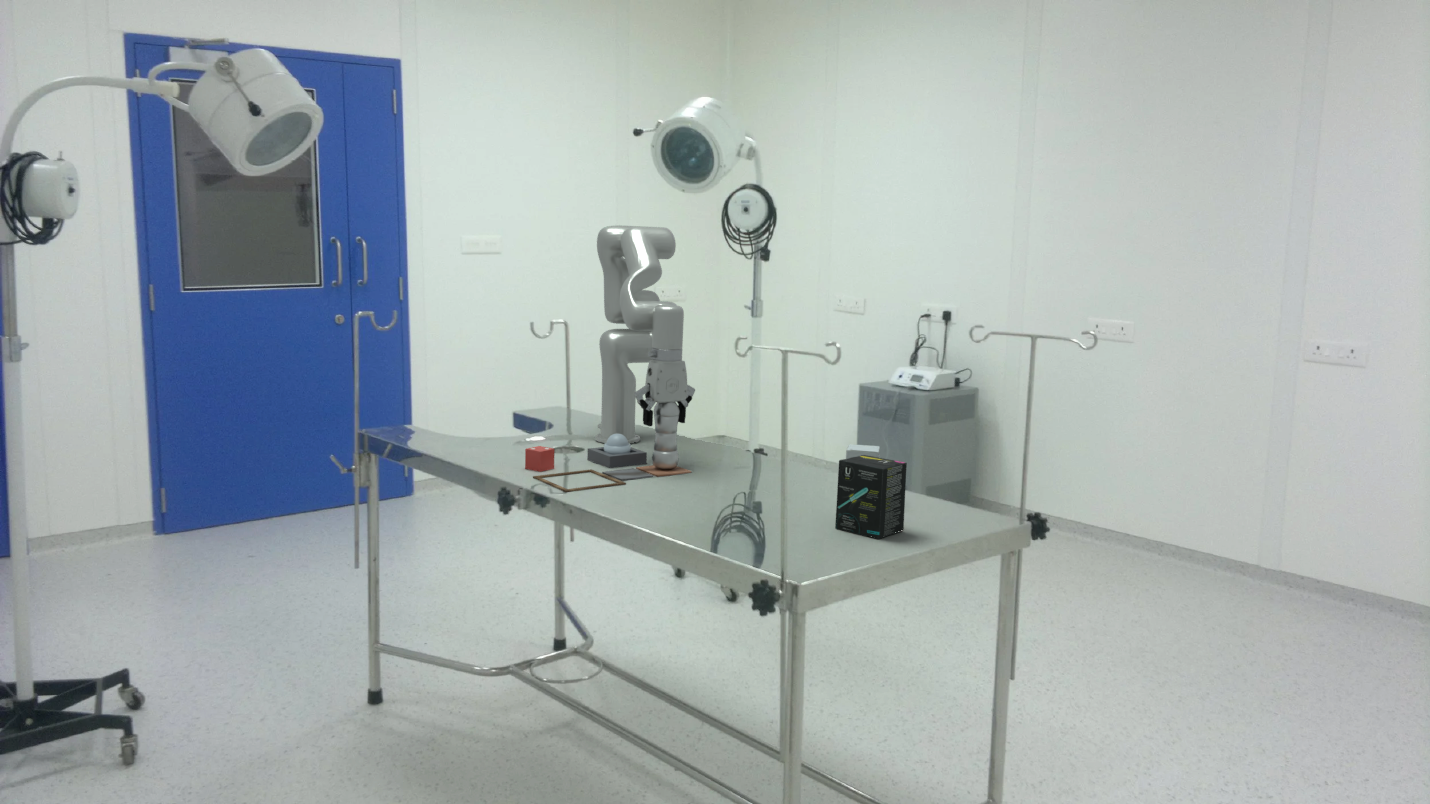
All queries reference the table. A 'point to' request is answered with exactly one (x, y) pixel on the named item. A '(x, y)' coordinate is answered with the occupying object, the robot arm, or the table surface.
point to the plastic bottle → (666, 435)
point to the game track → (617, 476)
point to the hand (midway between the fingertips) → (664, 423)
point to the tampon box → (871, 496)
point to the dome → (617, 444)
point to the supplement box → (862, 451)
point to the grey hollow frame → (617, 458)
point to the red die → (539, 458)
